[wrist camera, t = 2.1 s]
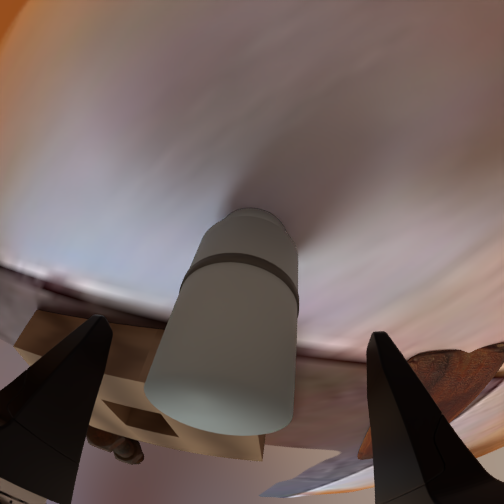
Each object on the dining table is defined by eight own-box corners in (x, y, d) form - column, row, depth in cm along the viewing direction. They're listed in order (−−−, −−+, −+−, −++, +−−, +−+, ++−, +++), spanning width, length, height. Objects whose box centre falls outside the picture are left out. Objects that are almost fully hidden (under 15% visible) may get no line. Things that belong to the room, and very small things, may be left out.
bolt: (137, 436, 44) (106, 403, 34) (157, 455, 41) (129, 429, 32) (114, 456, 40) (76, 428, 30) (134, 476, 38) (98, 456, 28)
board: (102, 396, 29) (90, 426, 26) (37, 309, 20) (13, 346, 17) (266, 423, 26) (262, 461, 23) (260, 337, 18) (252, 396, 15)
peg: (213, 272, 15) (166, 425, 9) (200, 196, 13) (118, 359, 6) (298, 274, 15) (291, 440, 8) (300, 196, 12) (299, 378, 6)
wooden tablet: (401, 347, 18) (405, 368, 17) (511, 332, 17) (519, 349, 15) (347, 456, 34) (347, 467, 33) (415, 448, 32) (416, 458, 31)
